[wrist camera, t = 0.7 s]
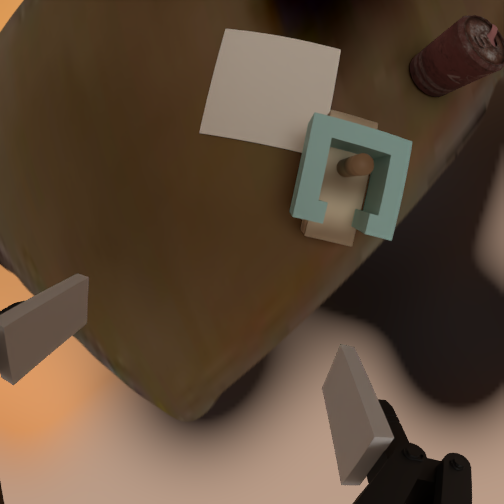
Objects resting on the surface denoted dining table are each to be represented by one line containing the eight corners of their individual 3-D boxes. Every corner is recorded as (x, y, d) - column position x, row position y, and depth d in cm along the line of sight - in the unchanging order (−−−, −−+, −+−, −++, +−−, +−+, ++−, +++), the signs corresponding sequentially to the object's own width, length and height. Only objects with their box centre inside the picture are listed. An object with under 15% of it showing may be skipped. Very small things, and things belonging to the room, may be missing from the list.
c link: (308, 123, 29) (314, 112, 24) (392, 147, 29) (412, 141, 24) (289, 211, 31) (292, 216, 26) (374, 232, 31) (391, 240, 26)
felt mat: (226, 29, 32) (225, 28, 31) (340, 50, 31) (340, 49, 31) (199, 133, 35) (199, 132, 34) (320, 157, 34) (320, 157, 34)
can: (453, 72, 30) (514, 39, 17) (440, 106, 32) (505, 81, 18) (417, 45, 30) (469, -1, 17) (401, 79, 32) (456, 38, 18)
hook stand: (323, 119, 33) (345, 92, 22) (364, 130, 33) (402, 110, 22) (300, 228, 36) (312, 249, 25) (341, 238, 36) (370, 262, 25)
